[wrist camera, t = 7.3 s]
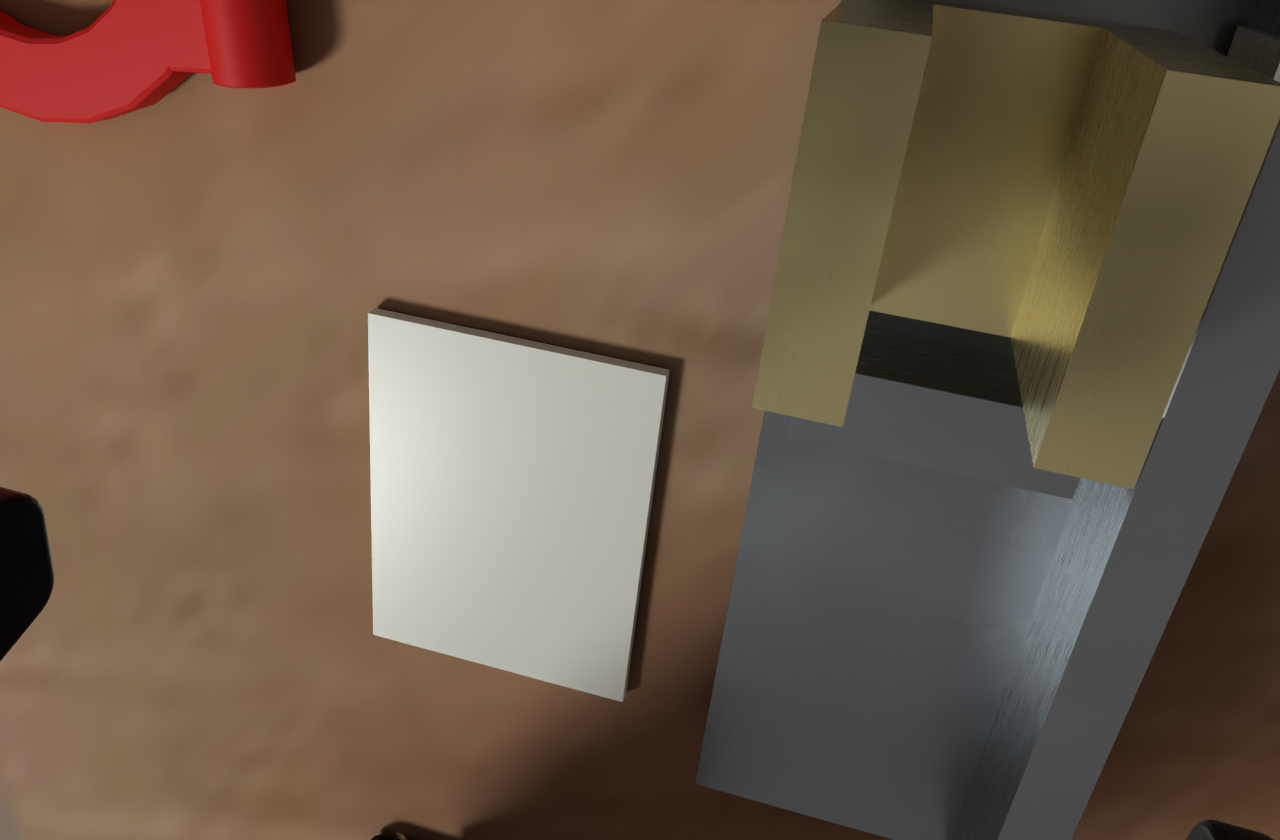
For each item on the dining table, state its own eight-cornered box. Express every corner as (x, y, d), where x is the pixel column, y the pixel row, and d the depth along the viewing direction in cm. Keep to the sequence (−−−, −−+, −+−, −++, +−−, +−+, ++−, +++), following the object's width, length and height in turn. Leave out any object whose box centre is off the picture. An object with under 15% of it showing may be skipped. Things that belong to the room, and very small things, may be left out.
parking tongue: (626, 693, 23) (622, 702, 22) (379, 627, 24) (373, 634, 24) (670, 369, 19) (666, 375, 19) (375, 308, 20) (367, 312, 20)
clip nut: (1076, 321, 15) (1133, 490, 10) (803, 270, 16) (751, 408, 11) (1172, 31, 13) (1291, 88, 9) (857, -13, 14) (821, 20, 9)
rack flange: (993, 791, 21) (1005, 987, 17) (713, 716, 22) (667, 885, 19) (1448, -409, 12) (1693, -564, 8) (935, -442, 13) (933, -593, 9)
